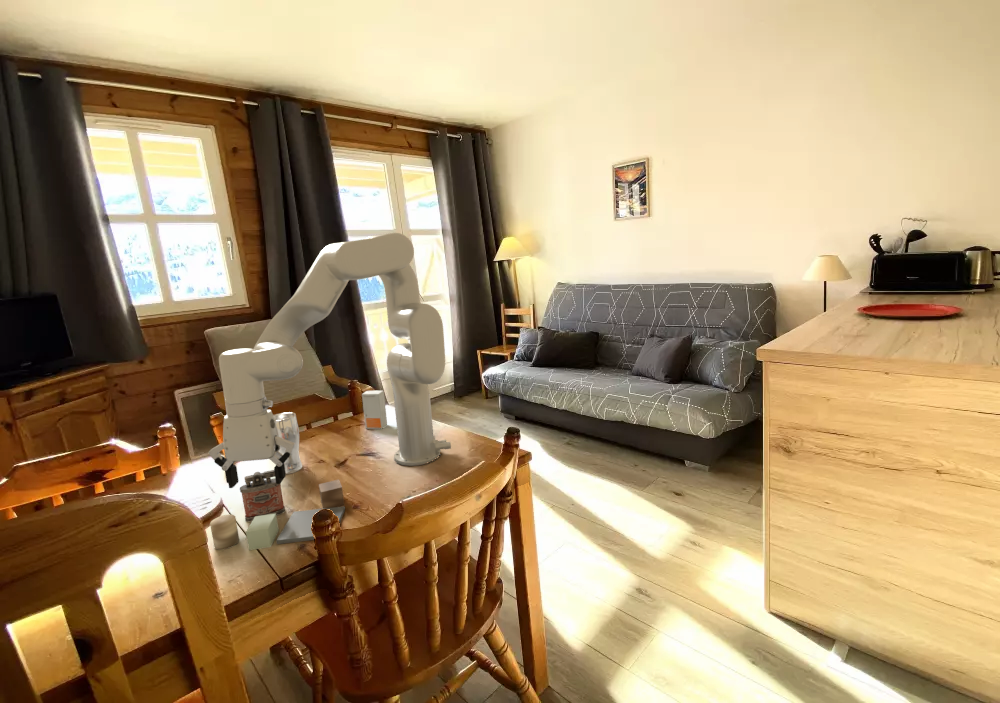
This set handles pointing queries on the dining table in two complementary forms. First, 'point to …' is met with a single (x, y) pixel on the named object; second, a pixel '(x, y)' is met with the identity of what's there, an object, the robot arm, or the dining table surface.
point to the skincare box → (374, 409)
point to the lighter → (261, 495)
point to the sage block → (262, 531)
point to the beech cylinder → (224, 532)
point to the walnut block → (331, 494)
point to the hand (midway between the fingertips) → (257, 483)
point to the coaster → (303, 525)
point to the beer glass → (289, 439)
